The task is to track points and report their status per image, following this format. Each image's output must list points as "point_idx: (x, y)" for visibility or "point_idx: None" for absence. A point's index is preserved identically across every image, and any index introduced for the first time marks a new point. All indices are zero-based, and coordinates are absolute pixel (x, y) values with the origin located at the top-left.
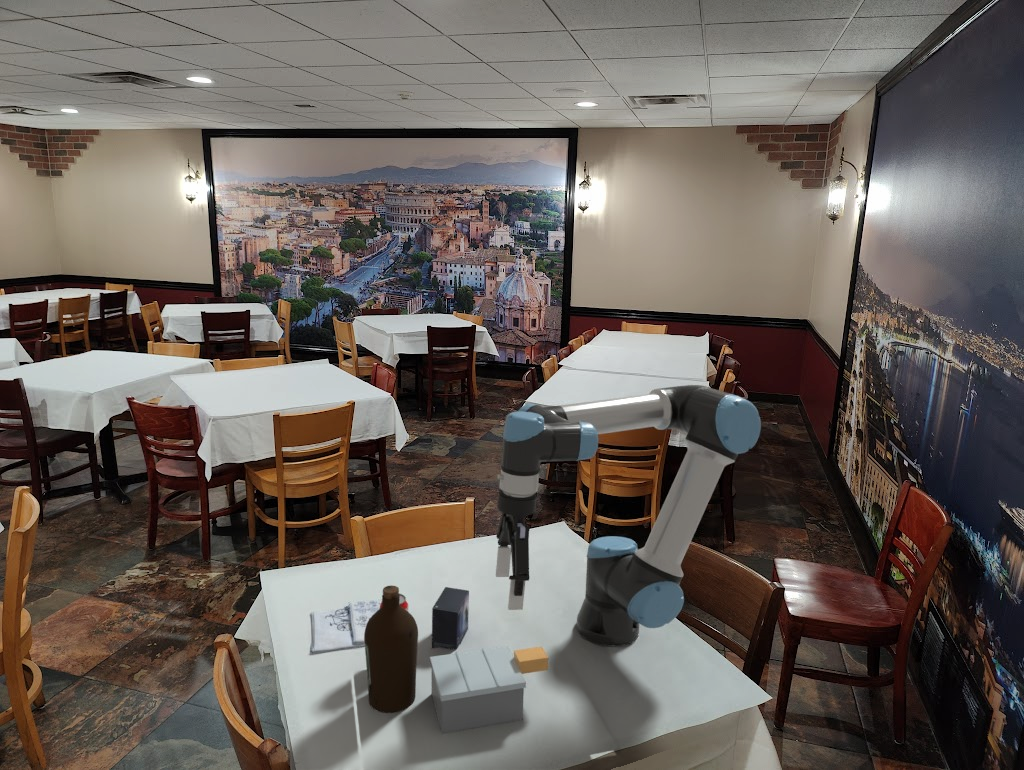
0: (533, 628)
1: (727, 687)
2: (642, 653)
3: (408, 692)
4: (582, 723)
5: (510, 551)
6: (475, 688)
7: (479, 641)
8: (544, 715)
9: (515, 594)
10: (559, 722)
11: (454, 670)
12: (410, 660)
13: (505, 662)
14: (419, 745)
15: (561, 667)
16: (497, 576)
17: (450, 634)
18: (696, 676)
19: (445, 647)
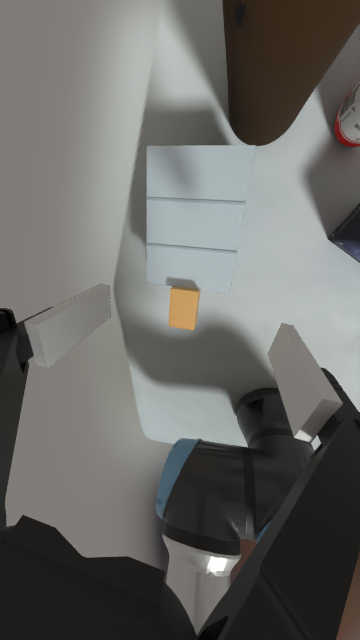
0: (318, 354)
1: (158, 430)
2: (219, 413)
3: (232, 113)
4: (150, 322)
5: (290, 420)
6: (150, 209)
7: (334, 280)
8: (169, 296)
9: (50, 308)
10: (156, 304)
11: (200, 187)
12: (233, 75)
13: (193, 274)
14: (164, 136)
15: (231, 344)
16: (280, 326)
17: (351, 229)
18: (176, 423)
19: (344, 222)
